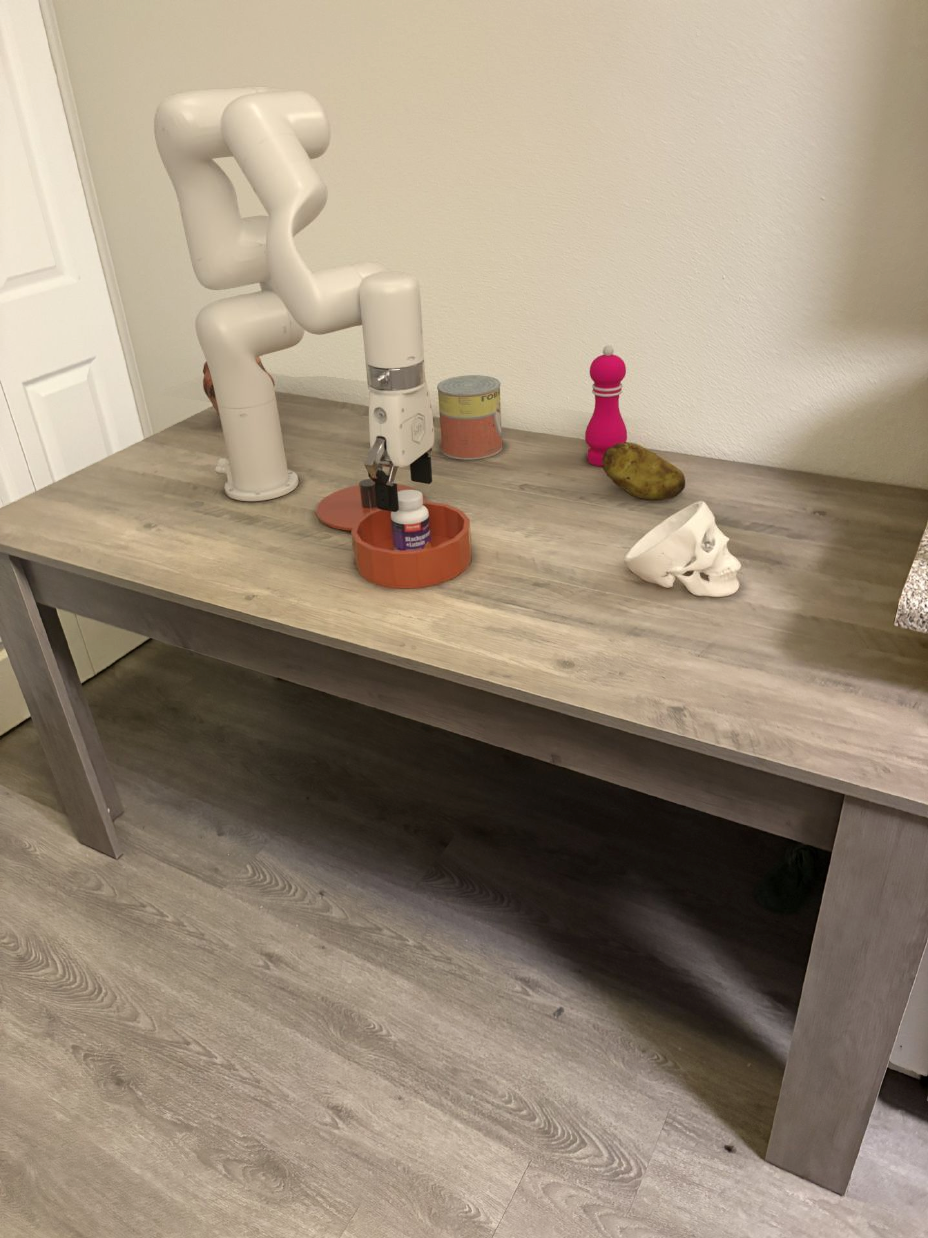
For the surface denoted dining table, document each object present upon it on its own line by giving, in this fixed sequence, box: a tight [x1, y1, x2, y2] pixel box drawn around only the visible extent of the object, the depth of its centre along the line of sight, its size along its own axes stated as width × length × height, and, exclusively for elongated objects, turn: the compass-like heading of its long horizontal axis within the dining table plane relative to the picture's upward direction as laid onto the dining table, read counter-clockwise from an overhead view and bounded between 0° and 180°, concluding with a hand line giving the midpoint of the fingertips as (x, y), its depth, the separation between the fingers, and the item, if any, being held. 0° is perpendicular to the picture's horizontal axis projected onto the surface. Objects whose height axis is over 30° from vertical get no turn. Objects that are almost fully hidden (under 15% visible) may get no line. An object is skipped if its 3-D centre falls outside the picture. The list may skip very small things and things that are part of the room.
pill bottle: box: [391, 489, 431, 551], centre depth 130 cm, size 5×5×10 cm
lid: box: [315, 478, 427, 532], centre depth 147 cm, size 18×18×5 cm
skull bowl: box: [623, 500, 742, 598], centre depth 122 cm, size 10×14×12 cm
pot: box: [350, 501, 473, 589], centre depth 131 cm, size 17×17×6 cm
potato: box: [602, 441, 686, 500], centre depth 146 cm, size 8×13×8 cm, turn 46°
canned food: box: [436, 374, 503, 461], centre depth 167 cm, size 11×11×12 cm
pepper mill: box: [584, 344, 628, 467], centre depth 156 cm, size 7×7×20 cm
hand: (405, 495), depth 128 cm, fingers open, 9 cm apart
